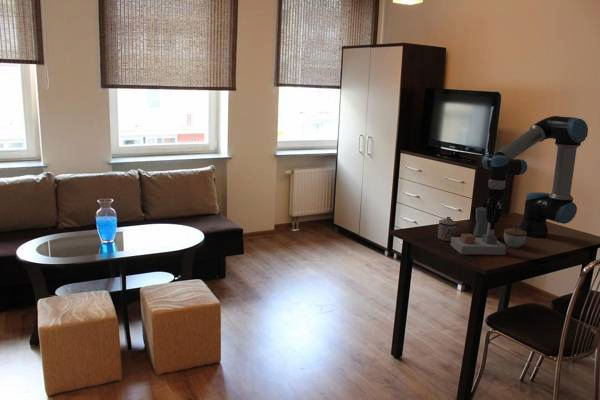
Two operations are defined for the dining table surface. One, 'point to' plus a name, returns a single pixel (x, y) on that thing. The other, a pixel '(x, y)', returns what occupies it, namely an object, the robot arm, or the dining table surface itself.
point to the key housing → (478, 247)
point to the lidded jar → (514, 237)
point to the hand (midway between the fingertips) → (490, 235)
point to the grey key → (489, 239)
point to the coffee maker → (480, 220)
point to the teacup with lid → (447, 229)
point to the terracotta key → (468, 238)
